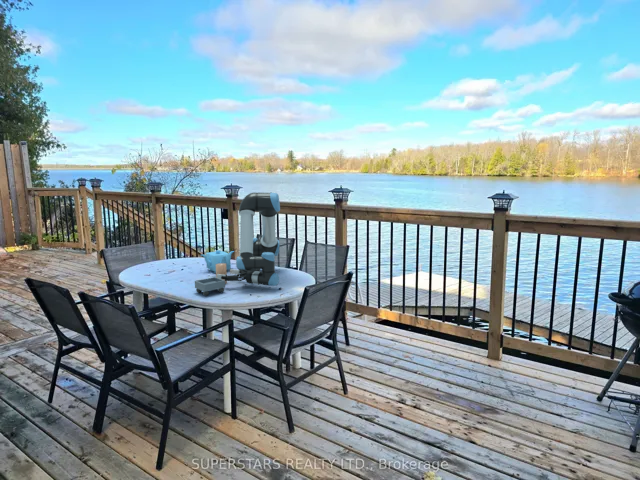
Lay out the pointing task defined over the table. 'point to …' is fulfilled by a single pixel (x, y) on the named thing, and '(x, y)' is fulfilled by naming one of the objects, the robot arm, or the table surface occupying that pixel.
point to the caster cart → (209, 285)
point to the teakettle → (217, 259)
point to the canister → (221, 269)
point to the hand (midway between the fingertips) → (224, 273)
